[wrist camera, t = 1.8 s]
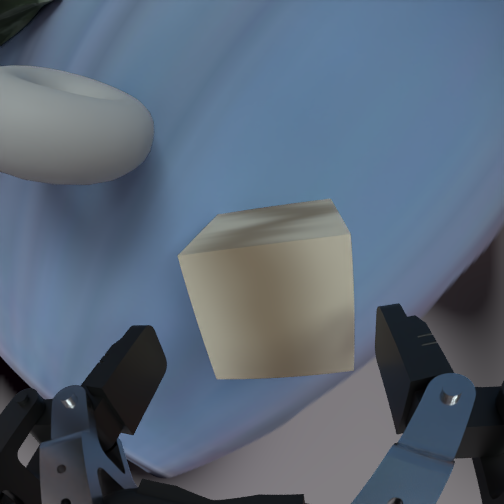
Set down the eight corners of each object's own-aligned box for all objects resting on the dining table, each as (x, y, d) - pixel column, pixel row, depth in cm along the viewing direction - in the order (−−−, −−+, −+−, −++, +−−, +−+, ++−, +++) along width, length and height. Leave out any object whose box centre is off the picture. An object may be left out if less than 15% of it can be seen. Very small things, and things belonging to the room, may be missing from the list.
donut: (53, 115, 15) (-73, 131, 6) (72, 68, 14) (-56, 57, 4) (169, 178, 16) (32, 237, 6) (197, 121, 14) (62, 111, 5)
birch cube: (330, 198, 15) (350, 234, 9) (339, 300, 17) (353, 370, 11) (218, 214, 16) (177, 255, 11) (239, 310, 18) (216, 379, 13)
